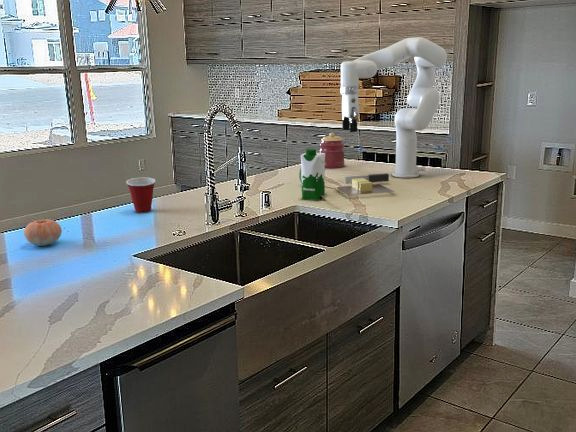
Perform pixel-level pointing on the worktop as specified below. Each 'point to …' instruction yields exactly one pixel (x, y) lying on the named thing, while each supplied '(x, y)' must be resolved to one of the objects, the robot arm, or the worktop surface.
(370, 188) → the butter slice
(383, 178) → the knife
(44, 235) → the pumpkin
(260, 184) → the worktop surface
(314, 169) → the milk carton
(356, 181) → the butter
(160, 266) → the worktop surface
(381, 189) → the cutting board
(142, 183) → the plastic cup
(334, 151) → the kitchen canister
